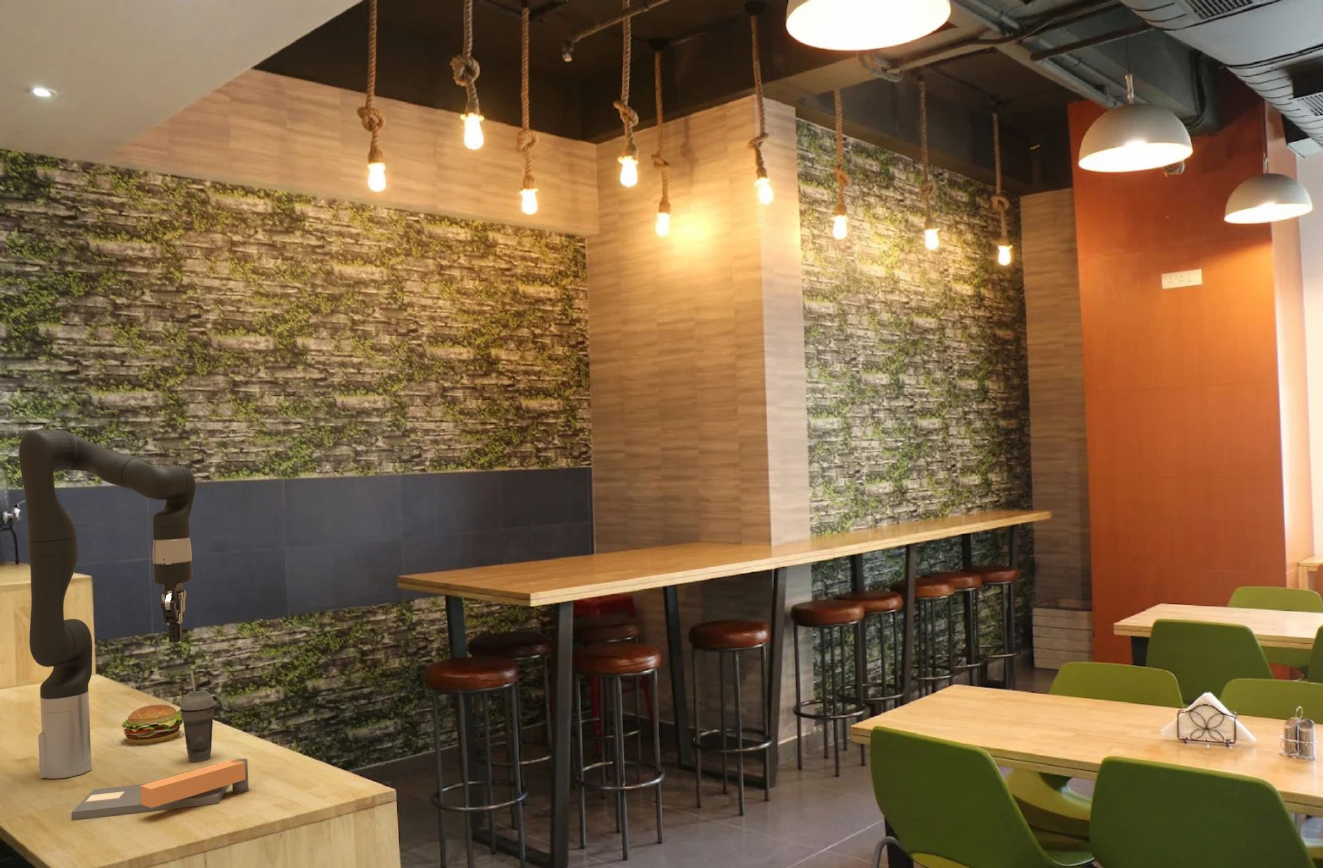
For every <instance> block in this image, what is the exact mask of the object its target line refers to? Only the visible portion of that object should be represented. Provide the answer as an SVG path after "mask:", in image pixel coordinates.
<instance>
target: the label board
mask: <svg viewBox="0 0 1323 868" xmlns="http://www.w3.org/2000/svg"><path fill="white" fill-rule="evenodd" d="M145 784H146V783H139V784H132V785H123V786H112V787H105V788H104V787H103V788H95V789H92V790H91V792H90V793H88V795H86V797H84V799H83V800H81V802H80V803H79V804H78V805H77V806H76V807H75V808H74V809H72V811H71V812H70V813H71V821H75V820H77V821H78V820H83V819H84V820H85V819H92V818H93V819H94V818H102V817H110V816H111V817H112V816H119V815H127V814H128V815H129V814H137V813H147V812H155V811H164V810H172V809H182V808H189V807H191V808H192V807H197V806H198V807H199V806H207V805H217V804H219V803H220V801H221V799H223V796H224V794H225V793H226V791H227V789H228V788H229V786H230V785H226V786H223V787H220V788H216V789H213V790H210V791H206V792H203V793H200V794H196V795H193V796H190V797H186V798H183V799H180V800H176V801H173V802H170V803H167V804H163V805H160V806H157V807H153V808H150V807H147V806H144V805H141V792H140V786H141V785H145ZM231 785H232V793H234V794H240V793H245V792H247V791H249V789H250V788H249V777H248V778H246V780H243V781H240V782H236V783H233V784H231Z"/></svg>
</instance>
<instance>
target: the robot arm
mask: <svg viewBox="0 0 1323 868" xmlns="http://www.w3.org/2000/svg"><path fill="white" fill-rule="evenodd" d="M18 459H19V467H20V473H21V479H22V483H23V484H22V485H23V490H24V496H25V506H26V518H27V535H28V536H27V538H28V539H27V541H28V559H29V568H30V569H29V570H30V593H31V594H30V596H31V598H30V601H31V603H30V618H29V619H30V622H29V641H28V642H29V650H30V653H31V657H32V658H33V660H34V661H35V663H37V664H38V666H41V667H44V668H45V667H46V668H51V667H53V668H52V671H51V673H50V674H49V676H48V677H47V678H46V679H45V680H44V681H42V683H41V684H40V687H39V697H40V698H39V699H40V719H41V721H40V722H41V723H40V724H41V732H40V733H39V734H38V740H37V741H38V759H39V762H38V763H39V779H54V780H55V779H64V778H65V779H66V778H71V777H74V776H75V777H77V776H79V775H82V774H85V773H88V772H89V771H91V770H92V746H91V745H92V744H91V722H90V719H91V718H90V698H89V697H90V695H89V684H90V681H91V678H92V675H93V638H92V633H91V631H90V628H89V626H88V625H87V624H86V623H85V622H84V621H82V620H80V619H78V618H68V619H65V613H64V609H65V608H64V604H65V602H64V601H65V597H66V595H67V594H66V593H67V590H68V588H69V585H70V583H71V581H72V578H73V575H74V574H75V570H76V567H77V564H78V555H79V553H78V552H79V551H78V537H77V536H78V535H77V530H76V528H75V527H76V526H75V525H74V522H73V521H72V519H71V517H70V515H68V512H66V509H65V508H64V506H63V504H61V502H60V500H59V498H58V495H57V492H56V489H55V488H56V487H55V480H54V479H55V477H54V473H55V472H63V471H78V472H79V471H81V472H88V473H91V474H94V475H95V476H97V477H98V478H99V479H101V480H102V481H104V482H106V483H108V484H111V485H114V486H117V487H121V488H124V489H129V490H132V491H134V492H136V493H138V494H140V495H141V496H144V497H145V498H149V499H151V500H157V501H164V500H165V504H164V508H163V509H162V510H161V511H158V512H156V513H155V514H154V515H153V518H152V533H153V535H152V536H153V539H152V540H153V543H152V544H153V545H152V572H153V573H152V574H153V575H152V576H153V583H154V584H155V585H164V587H163V588H164V589H163V592H162V593H161V601H160V609H161V611H162V615H163V620H164V623H165V624H166V625H167V626H168V641H169V642H170V643H180V642H181V641H182V639H183V635H182V634H183V631H182V629H183V628H182V623H183V621H184V620H183V619H184V618H185V616H186V615H185V613H186V604H187V603H186V602H187V598H188V596H187V593H186V592H187V591H186V589H184V585H183V583H188V582H191V581H192V580H193V558H192V557H193V555H192V543H191V538H190V536H191V535H190V531H191V530H190V514H191V512H192V508H193V504H194V503H193V502H194V498H195V494H196V479H195V476H194V474H193V472H192V471H191V470H190V468H187V467H186V466H182V465H173V466H172V465H170V466H167V465H166V466H161V465H160V466H158V465H154V464H153V463H152V462H151V461H149V460H148V459H145V458H142V457H138V456H135V455H131V454H128V453H124V452H120V451H116V450H112V449H110V448H109V449H108V448H105V447H103V446H100V445H97V444H95V443H92V441H91V442H90V441H88V440H86V439H84V438H82V437H81V436H78V435H76V434H74V433H72V432H70V431H66V430H61V429H34V430H30V431H28V432H26V433H25V434H24V435H23V436H22V438H21V440H20V443H19V447H18Z"/></svg>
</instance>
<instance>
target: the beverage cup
mask: <svg viewBox="0 0 1323 868" xmlns="http://www.w3.org/2000/svg"><path fill="white" fill-rule="evenodd" d="M189 673H190V679H191V685H192V690H191V691H189V692H187V693H186V694H185V696H184V697H183V698H182V700H181V703H180V709H179V710H180V712H181V716H182V719H183V723H182V725H183V729H184V730H183V731H184V739H185V745H186V752H187V758H188V762H189V763H199V762H204V761H208V760H210V759H211V757H212V756H211V754H212V746H213V745H212V742H213V740H212V739H213V725H214V724H213V722H214V714H215V707H216V704H215V701H214V698H213V696H212V695H211V693H209V692H208V691H207V690H206V689H200V688H199V689H198V688H197V689H196V683H195V679H194V677H195V676H194V670H193V669H190V671H189Z"/></svg>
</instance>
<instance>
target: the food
mask: <svg viewBox="0 0 1323 868" xmlns="http://www.w3.org/2000/svg"><path fill="white" fill-rule="evenodd" d="M127 717H128V718H126V719H125V720H124V721H123V722H122V724H121V727H122V729H123V733H124V736H125V737H126V742H127V743H129V744H131V745H132V744H133V745H150V744H156V743H157V744H158V743H162V742H166V741H169V740H171V739H174V738H176V737H178V736H179V734H180V729H181V726H182V725H183V719H182V716H181V711H180V709H179V710H177V709H176V708H175V707H173V706H171V705H169V704H150V705H146V706H142V707H139V708H136V709H135V710H133V711H132V712H131V713H130V714H129V715H128V716H127Z"/></svg>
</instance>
